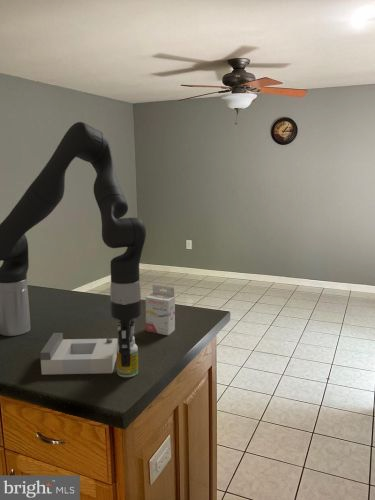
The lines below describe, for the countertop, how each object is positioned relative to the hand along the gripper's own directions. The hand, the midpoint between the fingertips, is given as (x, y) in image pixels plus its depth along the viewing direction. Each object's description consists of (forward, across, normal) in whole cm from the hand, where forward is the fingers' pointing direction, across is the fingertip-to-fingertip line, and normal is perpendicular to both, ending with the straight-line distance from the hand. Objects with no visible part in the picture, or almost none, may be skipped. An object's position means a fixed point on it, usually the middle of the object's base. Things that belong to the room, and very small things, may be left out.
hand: (127, 358), depth 109 cm
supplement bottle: (+4, 0, 0) cm, 4 cm away
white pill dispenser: (+4, -6, -13) cm, 15 cm away
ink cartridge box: (+4, -28, +8) cm, 29 cm away
